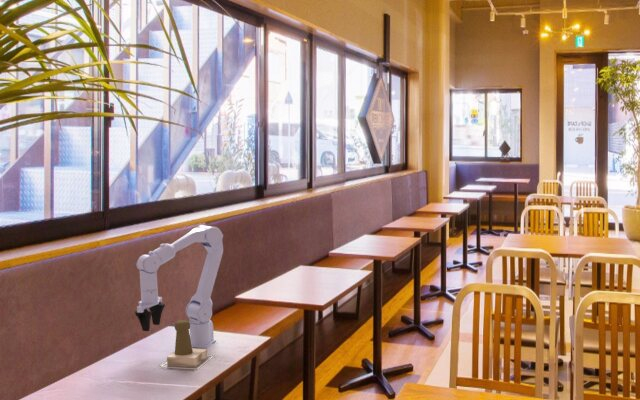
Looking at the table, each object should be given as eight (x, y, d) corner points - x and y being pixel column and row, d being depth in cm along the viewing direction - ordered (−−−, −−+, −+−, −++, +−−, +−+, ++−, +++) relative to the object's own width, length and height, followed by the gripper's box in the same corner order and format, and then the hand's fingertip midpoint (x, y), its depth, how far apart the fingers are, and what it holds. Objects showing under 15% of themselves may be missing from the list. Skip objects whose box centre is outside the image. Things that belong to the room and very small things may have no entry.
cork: (189, 355, 224) (187, 323, 223) (172, 355, 225) (170, 323, 224) (195, 349, 230) (193, 318, 229) (178, 349, 231) (176, 318, 230)
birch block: (180, 356, 233) (180, 347, 233) (207, 357, 231) (206, 349, 231) (167, 365, 224) (166, 356, 224) (194, 367, 221) (194, 358, 221)
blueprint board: (176, 353, 237) (176, 352, 237) (215, 356, 233) (215, 354, 233) (154, 369, 222) (154, 367, 222) (195, 372, 218) (195, 370, 218)
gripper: (148, 284, 241) (150, 321, 242) (128, 293, 227) (130, 333, 228) (166, 284, 239) (168, 322, 240) (147, 294, 225) (149, 334, 226)
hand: (151, 327), depth 234 cm, fingers open, 7 cm apart
